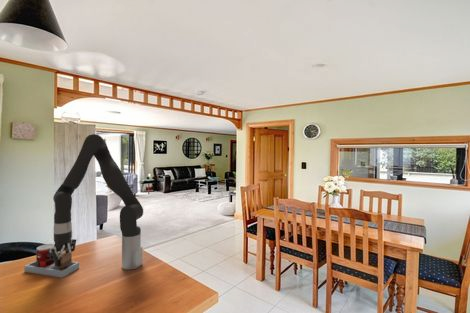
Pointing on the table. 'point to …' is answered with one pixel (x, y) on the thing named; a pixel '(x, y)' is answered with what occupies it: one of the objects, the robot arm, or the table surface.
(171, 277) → the table surface
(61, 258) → the walnut cube
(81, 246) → the table surface
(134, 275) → the table surface
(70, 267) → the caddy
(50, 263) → the canned food
